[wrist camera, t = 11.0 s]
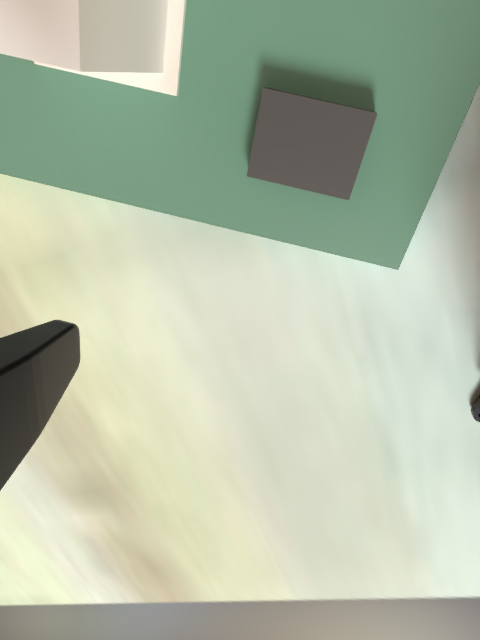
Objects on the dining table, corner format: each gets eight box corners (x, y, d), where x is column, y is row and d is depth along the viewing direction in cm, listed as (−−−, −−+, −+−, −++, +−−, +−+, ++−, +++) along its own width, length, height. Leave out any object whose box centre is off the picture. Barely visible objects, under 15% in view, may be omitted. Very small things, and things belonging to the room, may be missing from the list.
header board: (597, -221, 11) (689, -320, 8) (393, 258, 18) (406, 290, 16) (-103, -344, 12) (-230, -470, 9) (-23, 158, 19) (-80, 172, 17)
